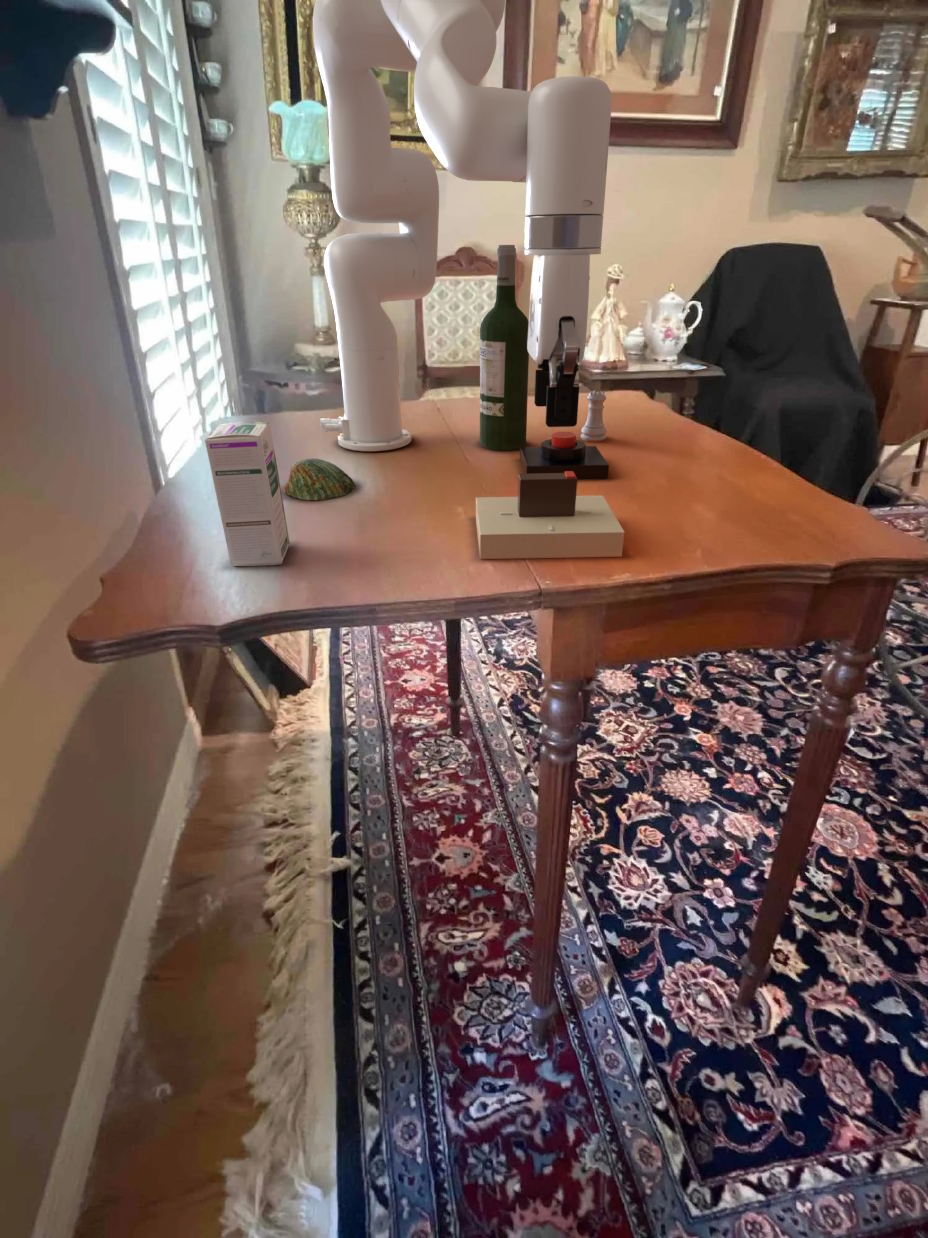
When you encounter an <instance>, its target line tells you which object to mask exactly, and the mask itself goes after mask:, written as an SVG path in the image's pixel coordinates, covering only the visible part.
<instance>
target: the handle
mask: <svg viewBox="0 0 928 1238" xmlns="http://www.w3.org/2000/svg"><path fill="white" fill-rule="evenodd" d="M517 479H518V480H517V481H518V482H517V483H518V484H517V497H518V508H517V510H518V514H519V517H534V516H574V515H575V504H576V496H577V489H578V480H577V477H576V475H575V474H574V472H573V471H564V473H538V474H524V473H518V478H517Z"/></svg>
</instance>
